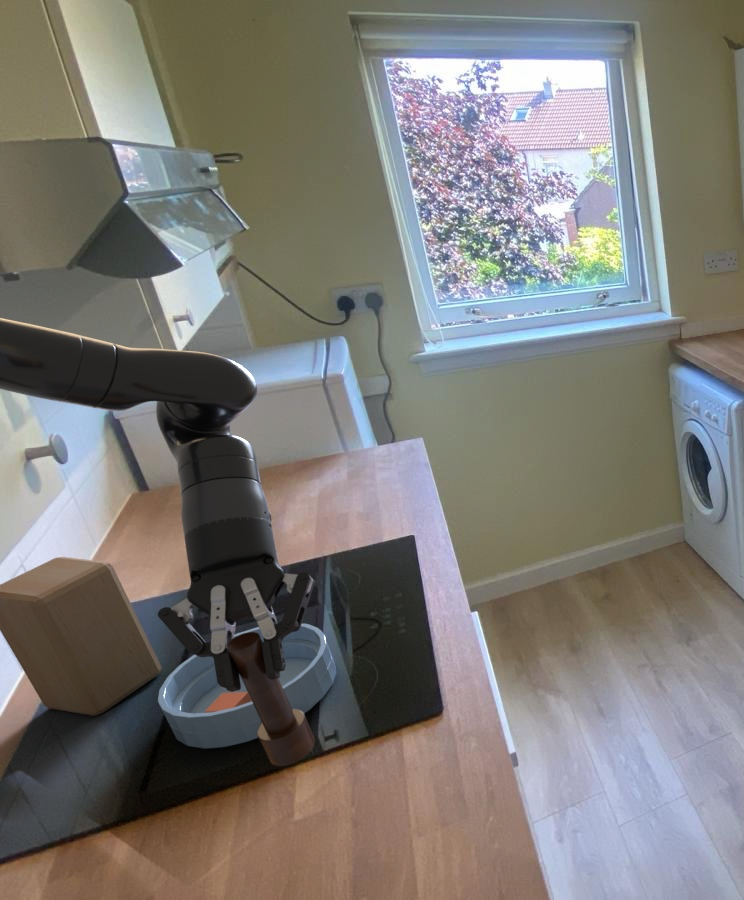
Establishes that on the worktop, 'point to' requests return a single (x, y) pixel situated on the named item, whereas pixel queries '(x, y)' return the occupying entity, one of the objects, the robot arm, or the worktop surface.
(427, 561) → the worktop surface
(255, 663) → the pestle
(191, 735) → the bowl
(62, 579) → the wooden block
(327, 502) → the worktop surface
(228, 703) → the block
